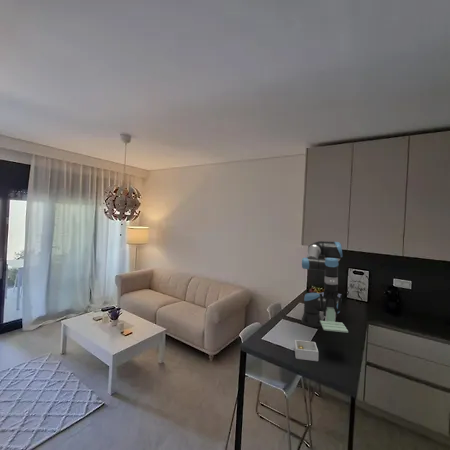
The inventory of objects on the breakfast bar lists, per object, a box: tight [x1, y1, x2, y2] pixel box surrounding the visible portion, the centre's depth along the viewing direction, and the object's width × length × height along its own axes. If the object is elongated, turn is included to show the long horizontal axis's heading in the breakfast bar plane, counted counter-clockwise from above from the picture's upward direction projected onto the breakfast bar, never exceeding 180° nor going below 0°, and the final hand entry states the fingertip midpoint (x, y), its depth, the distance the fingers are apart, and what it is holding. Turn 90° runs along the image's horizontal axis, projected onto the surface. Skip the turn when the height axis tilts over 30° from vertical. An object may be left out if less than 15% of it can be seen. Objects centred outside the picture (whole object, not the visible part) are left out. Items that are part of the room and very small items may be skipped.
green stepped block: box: [320, 307, 349, 333], centre depth 148 cm, size 18×13×8 cm
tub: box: [294, 339, 319, 362], centre depth 147 cm, size 12×12×6 cm
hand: (330, 321), depth 154 cm, fingers closed on green stepped block, 4 cm apart
